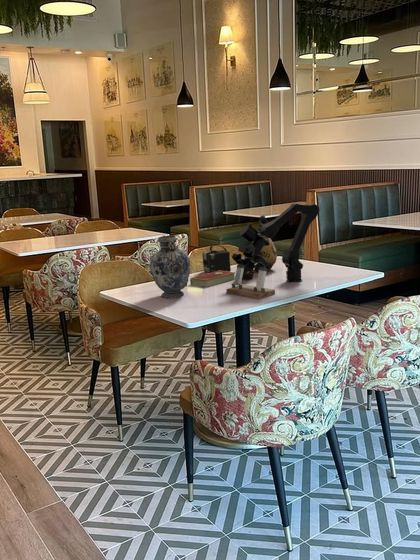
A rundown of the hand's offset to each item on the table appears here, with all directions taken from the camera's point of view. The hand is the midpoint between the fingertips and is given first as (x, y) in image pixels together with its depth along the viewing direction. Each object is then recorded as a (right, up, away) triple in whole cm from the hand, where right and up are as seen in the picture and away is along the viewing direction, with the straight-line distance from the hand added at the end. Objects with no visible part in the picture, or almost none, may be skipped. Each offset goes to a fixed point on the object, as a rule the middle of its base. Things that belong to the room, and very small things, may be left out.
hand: (241, 274), depth 247 cm
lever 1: (-2, -5, -1) cm, 6 cm away
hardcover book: (-13, -4, +26) cm, 30 cm away
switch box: (+4, -9, -5) cm, 10 cm away
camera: (-11, +2, +53) cm, 54 cm away
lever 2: (+7, -7, -11) cm, 15 cm away
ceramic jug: (+15, +3, +48) cm, 50 cm away
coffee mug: (+6, -2, +27) cm, 28 cm away
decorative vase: (-32, -10, +3) cm, 34 cm away
